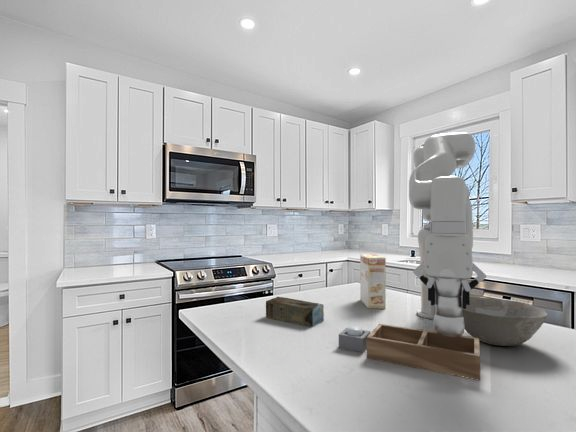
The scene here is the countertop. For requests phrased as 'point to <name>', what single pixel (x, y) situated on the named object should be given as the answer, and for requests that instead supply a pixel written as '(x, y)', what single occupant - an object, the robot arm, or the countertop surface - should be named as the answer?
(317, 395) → the countertop surface
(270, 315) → the brown-grey rectangular block
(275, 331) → the countertop surface
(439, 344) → the walnut bottle rack
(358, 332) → the white domed push button
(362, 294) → the coffeecake box
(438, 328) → the plastic bottle
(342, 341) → the button housing
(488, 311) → the ceramic bowl
